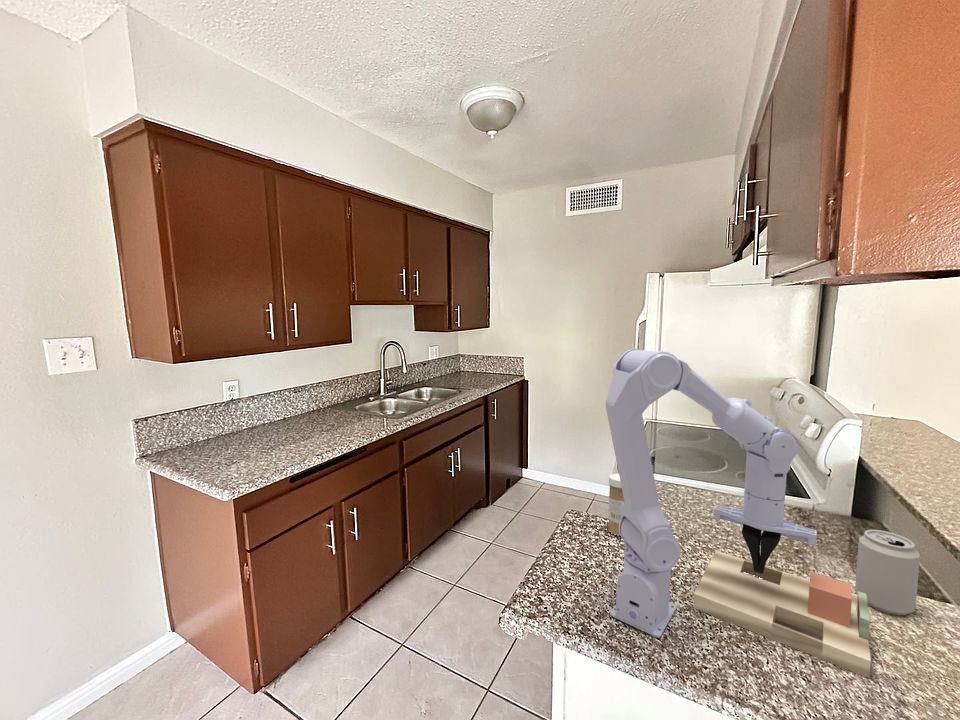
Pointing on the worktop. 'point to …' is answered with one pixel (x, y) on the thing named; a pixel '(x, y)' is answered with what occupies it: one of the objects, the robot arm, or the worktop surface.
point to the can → (887, 571)
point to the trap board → (783, 611)
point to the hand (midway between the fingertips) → (758, 570)
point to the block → (830, 599)
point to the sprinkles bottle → (615, 503)
